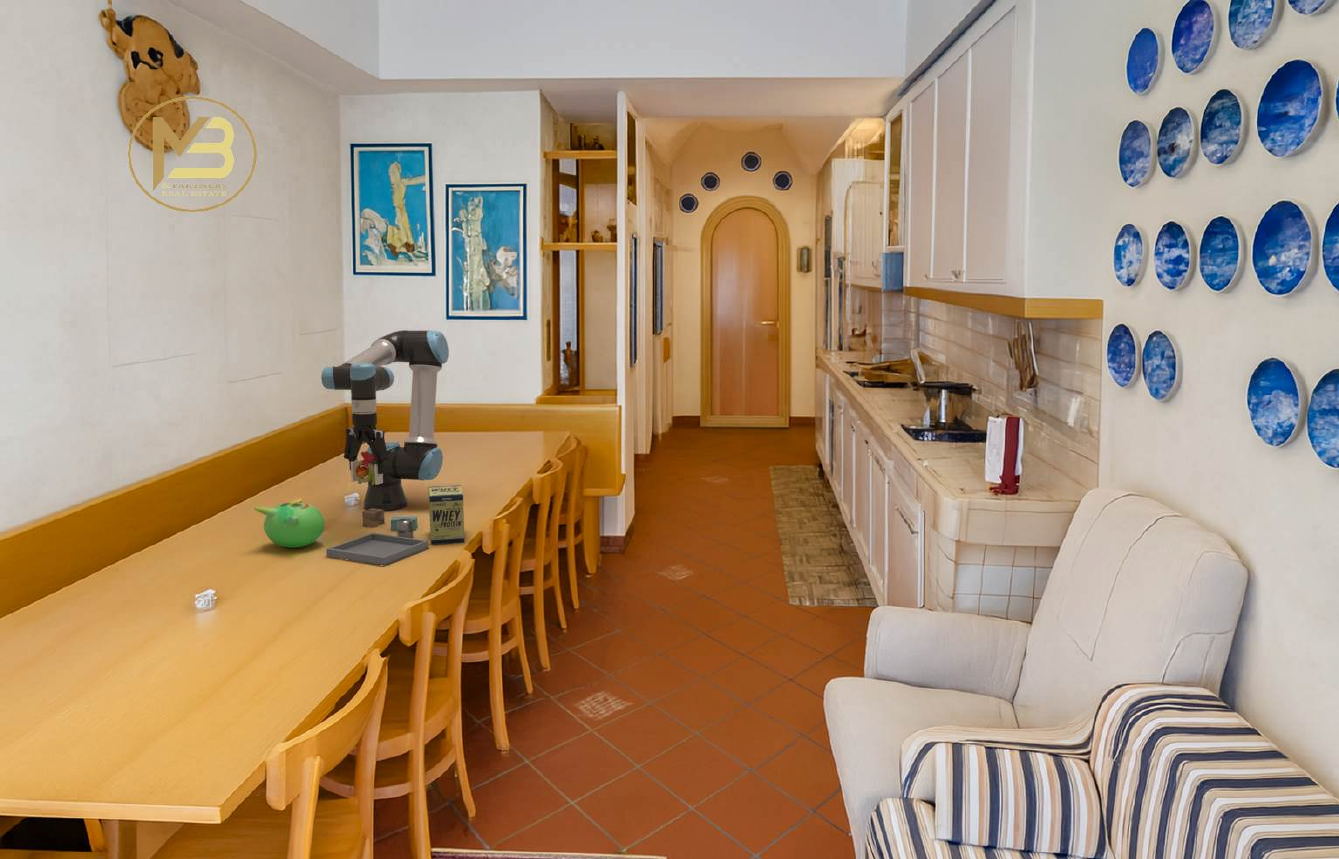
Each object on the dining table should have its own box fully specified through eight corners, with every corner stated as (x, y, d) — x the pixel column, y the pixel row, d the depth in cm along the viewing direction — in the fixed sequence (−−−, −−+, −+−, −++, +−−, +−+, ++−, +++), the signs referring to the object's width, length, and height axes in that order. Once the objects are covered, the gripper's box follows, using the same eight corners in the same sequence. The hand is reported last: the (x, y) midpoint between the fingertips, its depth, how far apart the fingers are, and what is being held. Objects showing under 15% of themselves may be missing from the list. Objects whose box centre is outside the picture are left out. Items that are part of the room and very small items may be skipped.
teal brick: (393, 528, 316) (392, 516, 315) (417, 527, 317) (417, 516, 316) (391, 531, 312) (390, 519, 312) (415, 531, 313) (415, 519, 312)
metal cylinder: (404, 535, 306) (403, 517, 306) (416, 537, 304) (416, 519, 303) (394, 539, 302) (393, 521, 301) (406, 541, 300) (405, 523, 299)
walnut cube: (373, 522, 323) (372, 508, 322) (384, 524, 321) (384, 509, 320) (362, 526, 319) (362, 511, 318) (374, 527, 317) (373, 513, 316)
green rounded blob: (336, 542, 299) (333, 497, 296) (299, 557, 283) (296, 509, 281) (289, 537, 304) (287, 492, 302) (251, 551, 289) (247, 504, 286)
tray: (373, 540, 301) (372, 532, 301) (428, 548, 292) (428, 540, 292) (326, 556, 283) (326, 548, 283) (384, 566, 274) (384, 558, 274)
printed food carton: (356, 492, 300) (381, 481, 299) (341, 460, 299) (366, 449, 297) (364, 488, 306) (389, 477, 305) (349, 457, 305) (374, 446, 304)
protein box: (431, 545, 296) (429, 496, 294) (429, 532, 311) (428, 486, 309) (465, 542, 299) (463, 494, 297) (462, 530, 314) (460, 484, 311)
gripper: (329, 411, 300) (332, 481, 304) (382, 416, 291) (385, 487, 294) (346, 409, 307) (349, 477, 310) (399, 413, 298) (401, 483, 301)
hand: (367, 482), depth 302 cm, fingers closed on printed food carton, 9 cm apart
